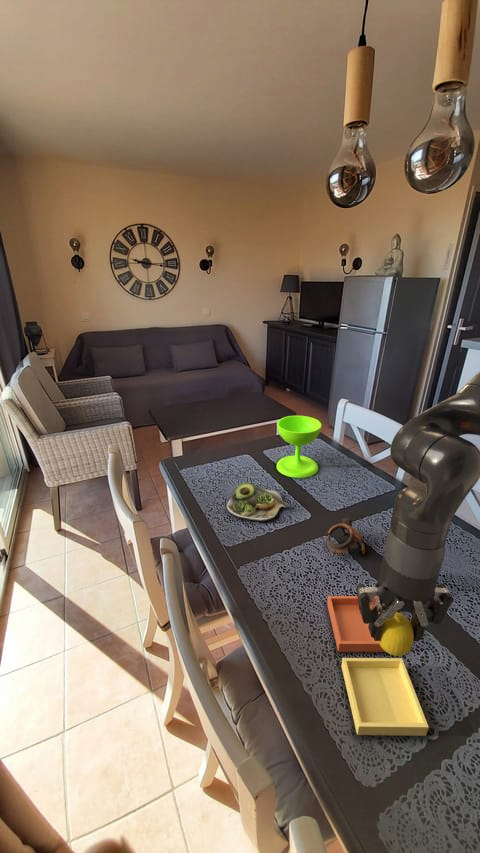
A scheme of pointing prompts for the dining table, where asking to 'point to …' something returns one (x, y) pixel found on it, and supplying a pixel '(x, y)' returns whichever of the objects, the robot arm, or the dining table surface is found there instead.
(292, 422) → the wineglass
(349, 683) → the cream tray
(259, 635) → the dining table surface
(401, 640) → the lemon
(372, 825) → the dining table surface
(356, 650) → the terracotta tray
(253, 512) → the salad plate
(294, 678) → the dining table surface
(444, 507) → the robot arm
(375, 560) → the dining table surface
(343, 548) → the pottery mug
